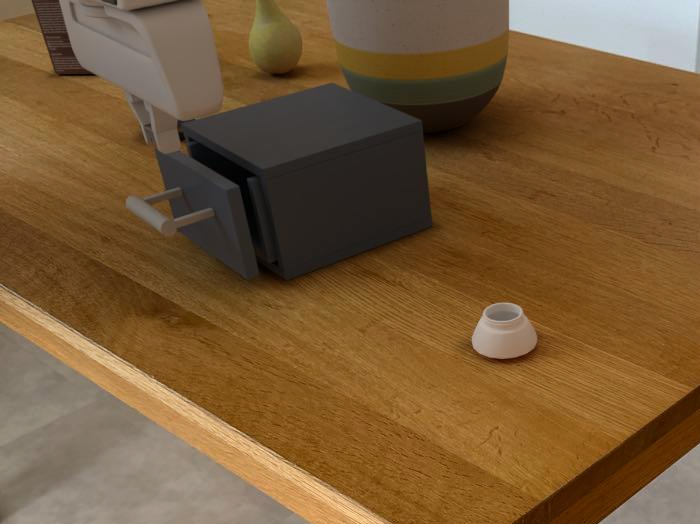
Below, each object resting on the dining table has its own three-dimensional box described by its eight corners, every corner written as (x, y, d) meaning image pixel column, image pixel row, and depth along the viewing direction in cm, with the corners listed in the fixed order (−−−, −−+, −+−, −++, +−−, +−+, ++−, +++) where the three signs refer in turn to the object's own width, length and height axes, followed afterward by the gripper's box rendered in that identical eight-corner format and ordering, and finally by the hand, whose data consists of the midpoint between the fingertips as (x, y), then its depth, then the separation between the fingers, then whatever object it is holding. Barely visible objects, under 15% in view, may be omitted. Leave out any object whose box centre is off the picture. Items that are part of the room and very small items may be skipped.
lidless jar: (541, 359, 77) (532, 327, 80) (540, 325, 75) (530, 293, 78) (476, 366, 76) (469, 333, 80) (473, 331, 74) (466, 299, 78)
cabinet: (286, 281, 88) (262, 169, 81) (207, 228, 96) (180, 123, 90) (432, 226, 95) (422, 120, 89) (347, 182, 104) (332, 82, 97)
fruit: (310, 64, 134) (293, -38, 126) (300, 82, 128) (282, -23, 120) (260, 66, 134) (240, -36, 126) (248, 84, 128) (226, -21, 120)
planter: (548, 113, 117) (543, -102, 103) (444, 169, 105) (423, -65, 91) (418, 86, 126) (398, -116, 112) (309, 135, 114) (270, -84, 100)
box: (111, 65, 136) (81, -36, 128) (97, 75, 133) (66, -27, 125) (68, 65, 136) (36, -35, 129) (53, 75, 133) (19, -27, 125)
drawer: (195, 300, 83) (169, 207, 78) (126, 247, 91) (99, 160, 86) (389, 228, 93) (377, 142, 87) (312, 186, 101) (297, 105, 95)
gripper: (17, -56, 78) (77, 126, 87) (127, -12, 66) (184, 194, 75) (96, -70, 81) (146, 108, 90) (215, -30, 69) (259, 170, 78)
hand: (164, 148), depth 82 cm, fingers closed
